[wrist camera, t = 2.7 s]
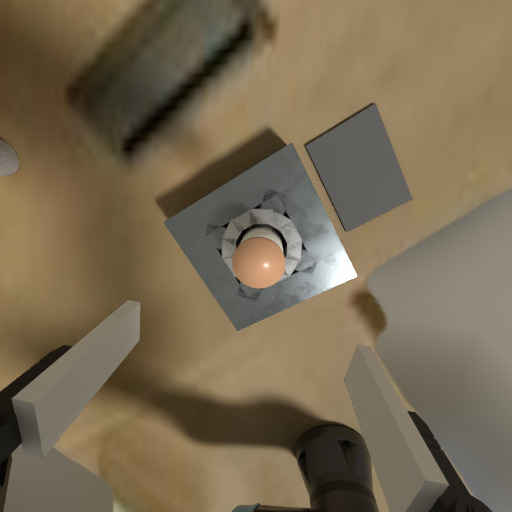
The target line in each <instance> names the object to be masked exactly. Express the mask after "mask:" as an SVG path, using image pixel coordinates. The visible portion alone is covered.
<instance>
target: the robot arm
mask: <svg viewBox="0 0 512 512" xmlns="http://www.w3.org/2000/svg"><path fill="white" fill-rule="evenodd" d="M139 340H140V302H135V301H130V300H127V301H126V302H125V303H124V304H122V305H121V306H120V307H119V308H118V309H117V310H115V311H114V312H113V313H112V314H111V315H110V316H108V317H107V318H106V319H105V320H104V321H102V322H101V323H100V324H99V325H98V326H97V327H95V328H94V329H93V330H92V331H91V332H90V333H88V334H87V335H86V336H85V337H84V338H82V339H81V340H80V341H79V342H78V343H77V344H75V345H74V346H73V347H72V346H67V345H64V346H62V347H60V348H58V349H56V350H54V351H52V352H50V353H49V354H47V355H46V356H45V357H44V358H42V359H41V360H40V361H39V363H36V364H35V365H33V366H32V367H31V368H30V370H27V371H26V372H25V373H23V374H22V375H21V376H20V377H18V378H17V379H16V380H14V381H13V382H12V383H11V384H9V385H8V386H7V387H6V388H4V389H3V390H2V391H1V392H0V512H3V509H4V504H5V498H6V491H7V486H8V480H9V474H10V468H11V462H12V456H11V453H12V452H13V451H14V450H15V449H16V448H17V447H18V446H19V445H20V444H22V449H23V453H24V454H28V455H33V456H38V457H45V456H46V454H47V453H48V452H49V451H50V449H51V448H52V447H53V446H54V444H55V443H56V442H57V441H58V440H59V438H60V437H61V436H62V435H63V433H64V432H65V431H66V430H67V429H68V427H69V426H70V425H71V424H72V422H73V421H74V420H75V419H76V418H77V416H78V415H79V414H80V413H81V411H82V410H83V409H84V408H85V406H86V405H87V404H88V403H89V402H90V400H91V399H92V398H93V397H94V395H95V394H96V393H97V392H98V391H99V389H100V388H101V387H102V386H103V384H104V383H105V382H106V381H107V380H108V378H109V377H110V376H111V375H112V373H113V372H114V371H115V370H116V368H117V367H118V366H119V365H120V364H121V362H122V361H123V360H124V359H125V357H126V356H127V355H128V354H129V353H130V351H131V350H132V349H133V348H134V346H135V345H136V344H137V343H138V342H139ZM344 382H345V385H346V387H347V390H348V393H349V396H350V399H351V402H352V405H353V408H354V410H355V413H356V416H357V419H358V422H359V425H360V428H361V431H362V433H363V436H364V439H365V440H364V439H363V437H362V436H361V435H360V434H358V433H357V432H356V431H354V430H352V429H350V428H347V427H343V426H338V425H325V426H320V427H316V428H313V429H311V430H309V431H307V432H306V433H305V434H303V435H302V436H301V438H300V439H299V440H298V442H297V446H296V455H297V463H298V467H299V469H300V472H301V475H302V478H303V480H304V483H305V486H306V488H307V491H308V494H309V497H310V505H311V508H296V507H282V506H269V505H261V504H259V503H257V504H255V505H239V506H237V507H236V508H234V510H233V511H232V512H379V510H378V507H377V504H376V500H375V497H374V494H373V485H372V467H371V459H372V462H373V465H374V468H375V471H376V474H377V477H378V479H379V482H380V485H381V488H382V491H383V494H384V497H385V500H386V502H387V505H388V508H389V511H390V512H492V511H491V510H490V509H489V508H488V507H487V506H486V505H484V503H482V502H481V501H480V500H478V499H476V498H475V497H473V496H471V495H470V493H469V492H468V490H467V489H466V487H465V485H464V484H463V482H462V481H461V479H460V477H459V476H458V474H457V473H456V471H455V469H454V468H453V466H452V464H451V463H450V461H449V460H448V458H447V456H446V455H445V453H444V452H443V450H441V447H440V445H439V444H438V442H437V440H436V439H434V435H433V434H432V432H431V431H430V429H429V427H428V426H427V424H426V423H425V422H424V421H423V420H422V419H421V418H420V417H419V416H418V415H417V414H416V413H415V412H410V411H407V410H406V408H405V407H404V405H403V403H402V401H401V400H400V398H399V396H398V394H397V393H396V391H395V389H394V387H393V386H392V384H391V382H390V380H389V379H388V377H387V375H386V373H385V372H384V370H383V368H382V366H381V365H380V363H379V361H378V359H377V358H376V356H375V354H374V352H373V351H372V349H371V347H369V346H364V345H359V344H357V347H356V349H355V352H354V355H353V357H352V360H351V362H350V365H349V368H348V370H347V373H346V375H345V378H344Z"/></svg>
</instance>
